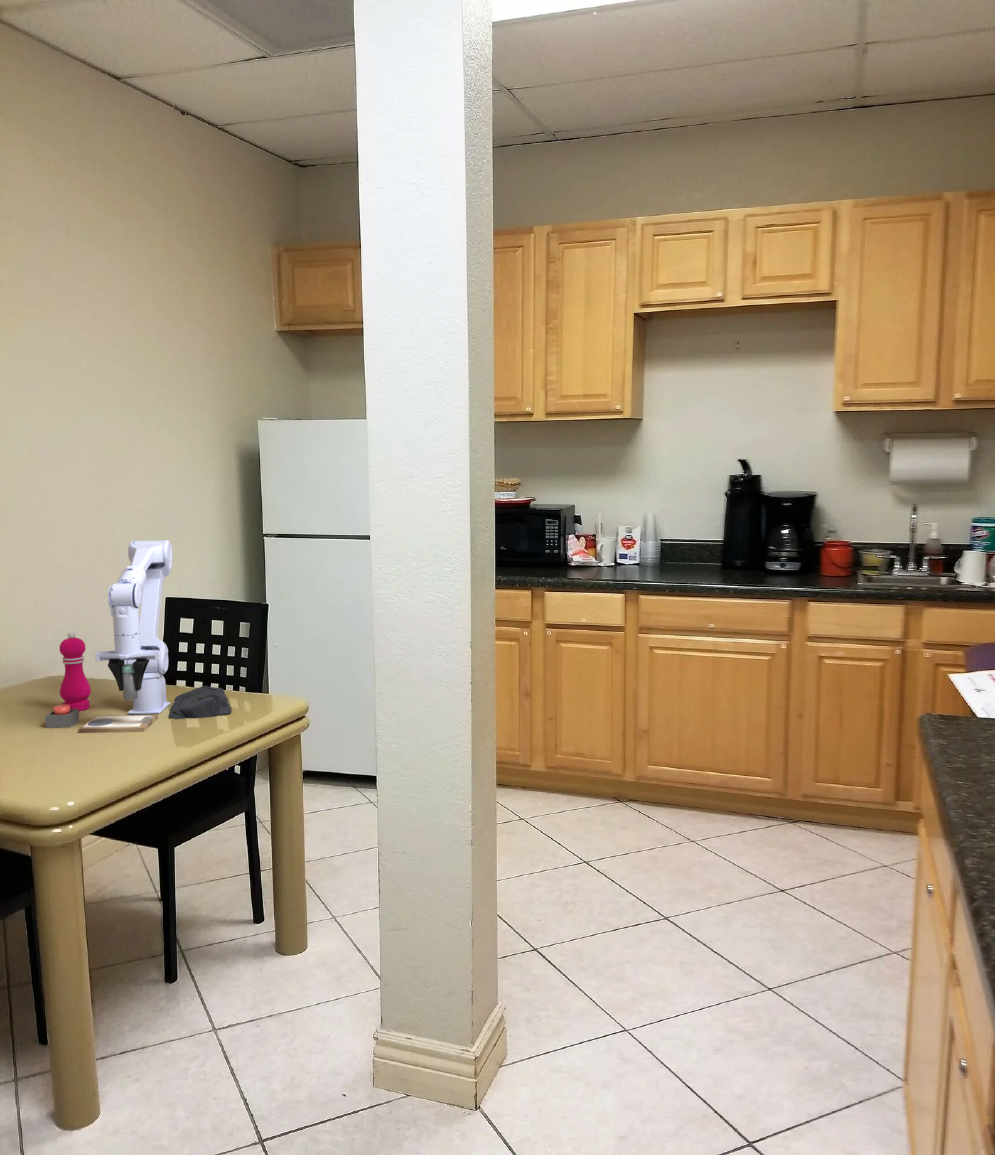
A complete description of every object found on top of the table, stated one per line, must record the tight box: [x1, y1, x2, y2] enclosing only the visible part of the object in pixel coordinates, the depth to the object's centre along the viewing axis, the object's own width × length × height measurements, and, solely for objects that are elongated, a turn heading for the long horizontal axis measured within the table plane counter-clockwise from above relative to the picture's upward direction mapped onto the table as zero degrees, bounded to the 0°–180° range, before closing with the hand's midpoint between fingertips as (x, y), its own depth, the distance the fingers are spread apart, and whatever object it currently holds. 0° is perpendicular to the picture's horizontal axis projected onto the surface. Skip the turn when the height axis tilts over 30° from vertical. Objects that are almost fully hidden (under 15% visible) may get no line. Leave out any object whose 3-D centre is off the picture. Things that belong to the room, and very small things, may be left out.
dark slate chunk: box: [168, 685, 233, 720], centre depth 240 cm, size 15×22×5 cm
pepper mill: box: [59, 631, 92, 712], centre depth 238 cm, size 7×7×20 cm
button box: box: [45, 709, 80, 729], centre depth 225 cm, size 6×6×3 cm
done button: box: [52, 703, 70, 715], centre depth 225 cm, size 4×4×2 cm
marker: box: [122, 664, 138, 701], centre depth 221 cm, size 3×3×8 cm
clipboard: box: [78, 714, 159, 734], centre depth 224 cm, size 11×15×2 cm
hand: (130, 689), depth 222 cm, fingers closed on marker, 3 cm apart
